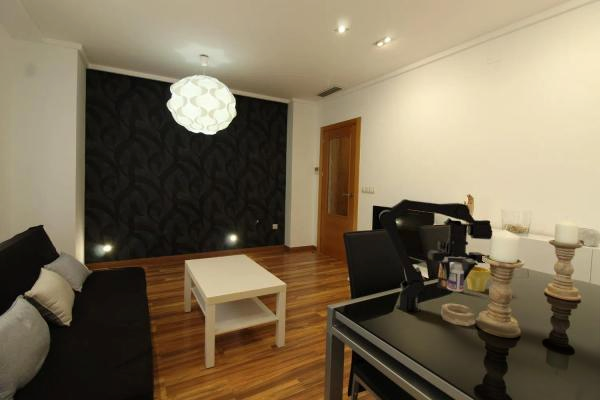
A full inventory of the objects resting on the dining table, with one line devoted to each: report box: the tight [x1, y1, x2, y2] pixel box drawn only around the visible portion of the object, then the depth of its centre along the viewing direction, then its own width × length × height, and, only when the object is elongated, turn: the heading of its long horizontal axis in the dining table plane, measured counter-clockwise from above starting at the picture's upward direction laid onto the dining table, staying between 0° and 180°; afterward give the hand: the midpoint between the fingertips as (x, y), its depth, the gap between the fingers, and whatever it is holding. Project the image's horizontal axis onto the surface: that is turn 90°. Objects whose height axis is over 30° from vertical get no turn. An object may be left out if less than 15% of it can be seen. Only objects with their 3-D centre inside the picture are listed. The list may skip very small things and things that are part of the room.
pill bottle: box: [446, 261, 465, 292], centre depth 110 cm, size 5×5×10 cm
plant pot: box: [465, 265, 491, 293], centre depth 138 cm, size 10×10×10 cm
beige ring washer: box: [440, 302, 477, 327], centre depth 106 cm, size 10×10×4 cm
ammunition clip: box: [437, 262, 464, 294], centre depth 137 cm, size 11×2×12 cm, turn 45°
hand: (455, 279), depth 110 cm, fingers closed on pill bottle, 5 cm apart
